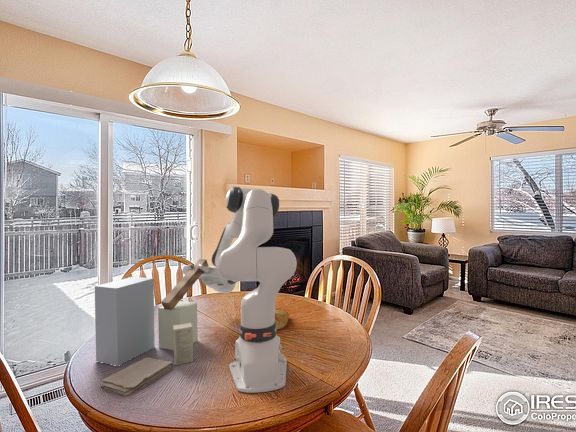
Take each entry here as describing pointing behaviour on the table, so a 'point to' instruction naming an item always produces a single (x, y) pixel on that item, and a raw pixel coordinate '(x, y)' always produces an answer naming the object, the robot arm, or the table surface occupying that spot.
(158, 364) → the washcloth
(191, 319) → the step block
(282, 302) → the table surface
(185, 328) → the skincare box
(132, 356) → the shelf stand
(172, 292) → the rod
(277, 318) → the croissant
